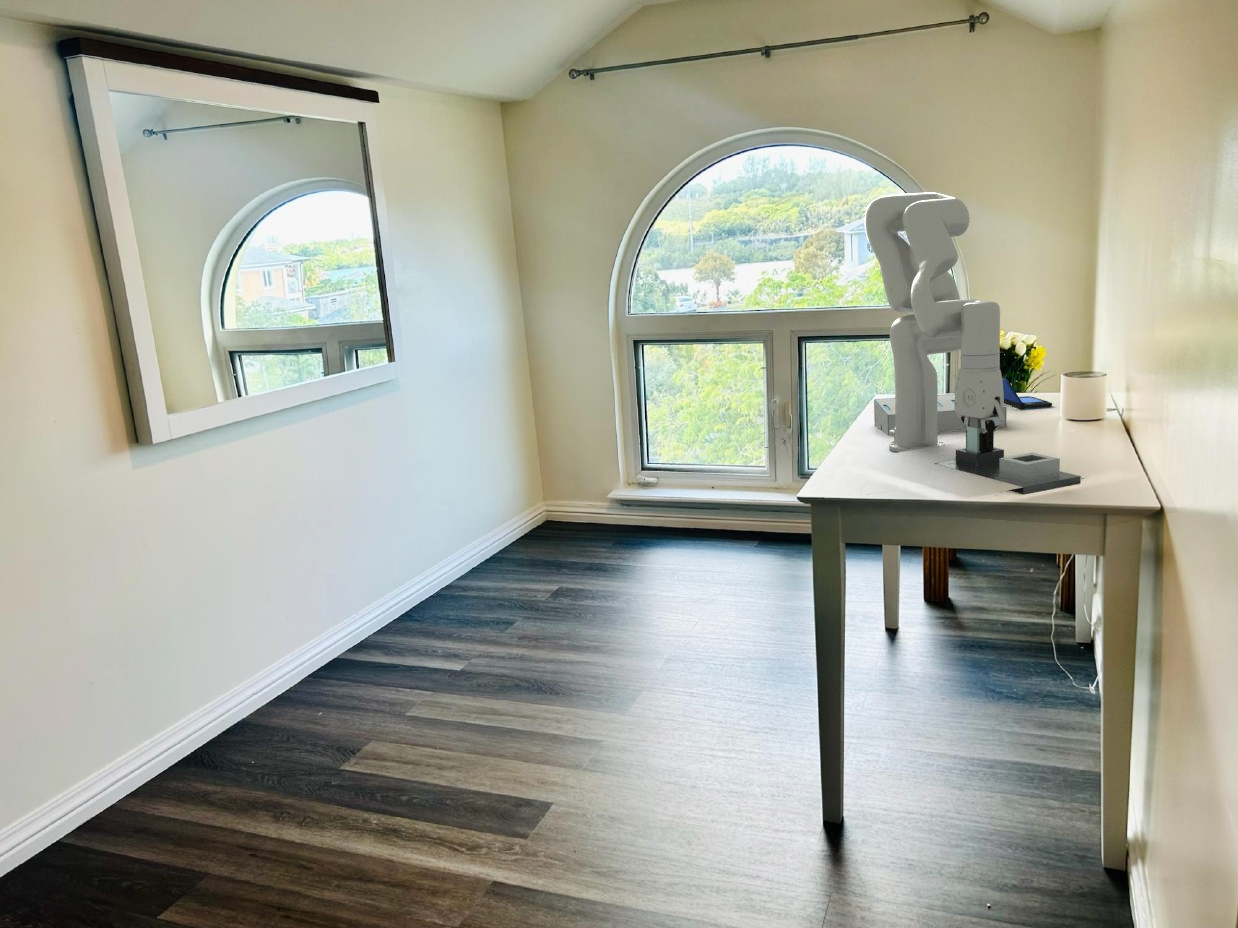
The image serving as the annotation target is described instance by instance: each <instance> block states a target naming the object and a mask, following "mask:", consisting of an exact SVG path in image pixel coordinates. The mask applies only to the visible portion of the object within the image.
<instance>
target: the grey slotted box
mask: <svg viewBox="0 0 1238 928" xmlns="http://www.w3.org/2000/svg"><path fill="white" fill-rule="evenodd" d="M873 404H874V405H873V406H874V407H873V408H874V409H873V412H874V415H873V416H874V426H875V427H877V428H878V429H879V430H881V431H882V432H884V433H885V434H886V435H887V436H891V435H890V434H889V431H890V430H894V428H895V427H896V417H895V397H889V398H887V397H886V398H877V399H875V398H874V399H873ZM1003 415H1004V418H1005V422H1003V423H1002V424H1000V425H999V426H998V427H997V428H1007V405H1006V404H1004V409H1003ZM997 428H996V429H997ZM954 430H956V431H966V430H965V429H964V424H963V422H962V420H961V419H960V418H959V417H958V416H957V414H956V412H955V393H949V394H948V393H947V394H946V393H945V394H938V433H939V431H942V432H952V431H953V432H955V431H954Z"/></svg>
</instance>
